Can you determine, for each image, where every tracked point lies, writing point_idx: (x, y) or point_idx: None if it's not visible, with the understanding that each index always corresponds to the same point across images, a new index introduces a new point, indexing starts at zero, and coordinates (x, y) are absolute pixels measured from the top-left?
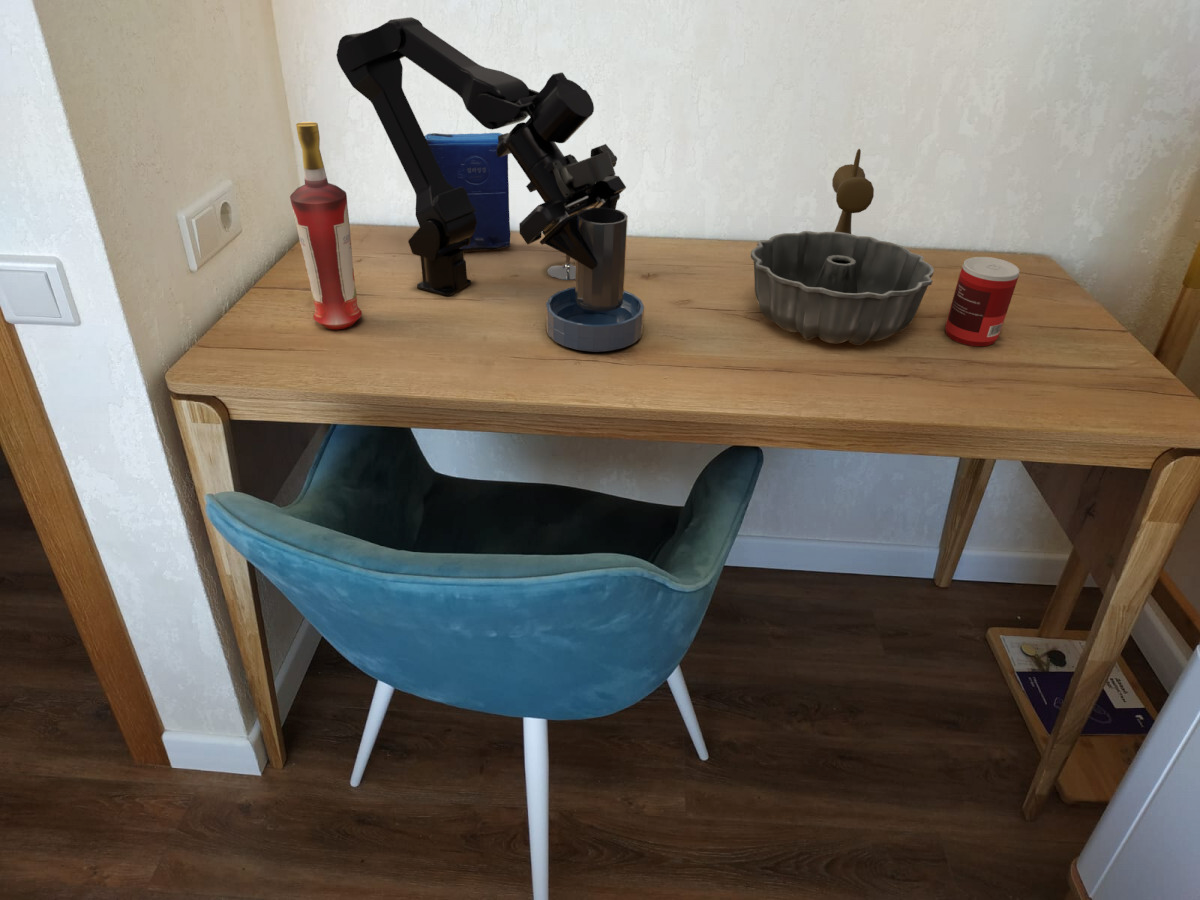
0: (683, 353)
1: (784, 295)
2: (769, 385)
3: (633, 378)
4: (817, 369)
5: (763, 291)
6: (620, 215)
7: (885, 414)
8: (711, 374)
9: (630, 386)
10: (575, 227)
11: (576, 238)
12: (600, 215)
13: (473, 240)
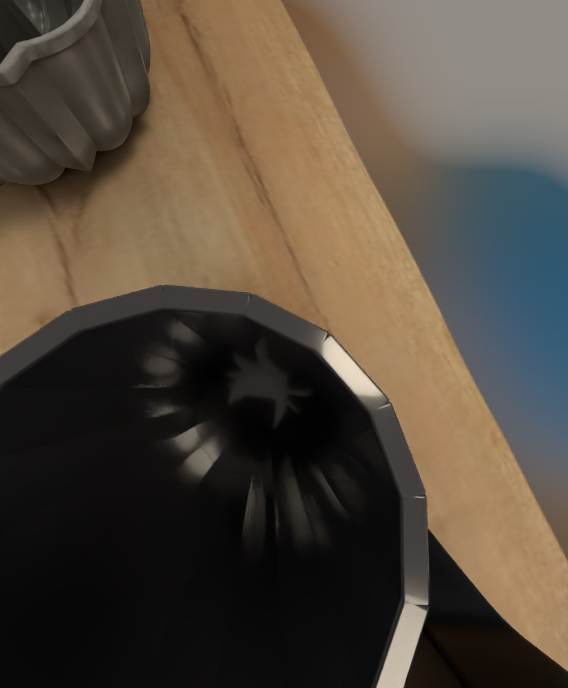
0: (252, 264)
1: (106, 57)
2: (286, 144)
3: (359, 301)
4: (214, 101)
5: (63, 122)
6: (15, 409)
7: (288, 32)
8: (294, 213)
9: (381, 297)
10: (462, 640)
11: (444, 550)
12: (6, 617)
13: None
